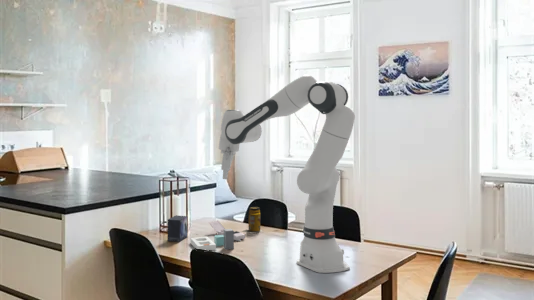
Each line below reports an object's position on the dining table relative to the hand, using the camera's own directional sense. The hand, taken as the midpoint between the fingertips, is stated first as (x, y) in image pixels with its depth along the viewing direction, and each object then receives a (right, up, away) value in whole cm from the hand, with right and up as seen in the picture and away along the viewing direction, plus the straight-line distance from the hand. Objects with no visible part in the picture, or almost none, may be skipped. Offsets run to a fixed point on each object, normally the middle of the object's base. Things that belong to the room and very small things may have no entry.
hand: (225, 177), depth 231 cm
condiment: (+11, -30, +36) cm, 48 cm away
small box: (-24, -31, +19) cm, 43 cm away
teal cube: (-3, -31, +8) cm, 32 cm away
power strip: (-10, -31, +4) cm, 33 cm away
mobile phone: (-1, -31, +24) cm, 39 cm away
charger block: (+2, -32, +1) cm, 32 cm away
